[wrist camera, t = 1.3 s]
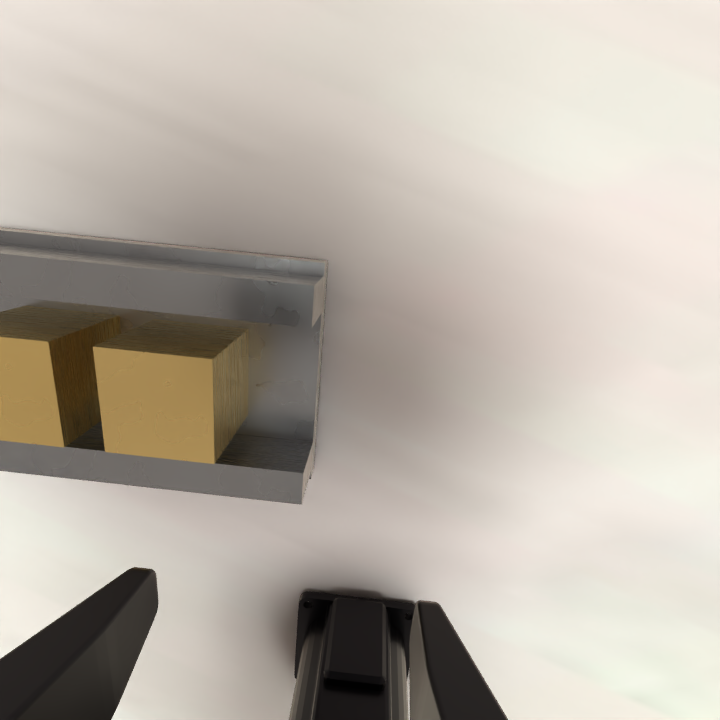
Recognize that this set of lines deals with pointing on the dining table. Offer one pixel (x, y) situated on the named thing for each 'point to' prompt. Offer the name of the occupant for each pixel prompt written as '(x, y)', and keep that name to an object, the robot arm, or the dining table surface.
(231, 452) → the slot rail
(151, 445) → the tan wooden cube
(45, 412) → the tan cube
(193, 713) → the dining table surface
